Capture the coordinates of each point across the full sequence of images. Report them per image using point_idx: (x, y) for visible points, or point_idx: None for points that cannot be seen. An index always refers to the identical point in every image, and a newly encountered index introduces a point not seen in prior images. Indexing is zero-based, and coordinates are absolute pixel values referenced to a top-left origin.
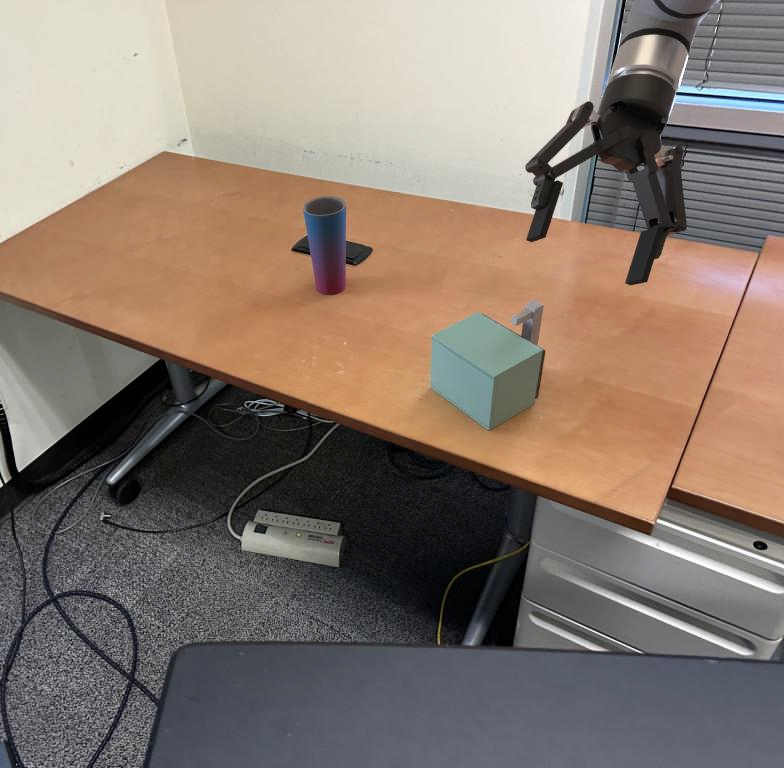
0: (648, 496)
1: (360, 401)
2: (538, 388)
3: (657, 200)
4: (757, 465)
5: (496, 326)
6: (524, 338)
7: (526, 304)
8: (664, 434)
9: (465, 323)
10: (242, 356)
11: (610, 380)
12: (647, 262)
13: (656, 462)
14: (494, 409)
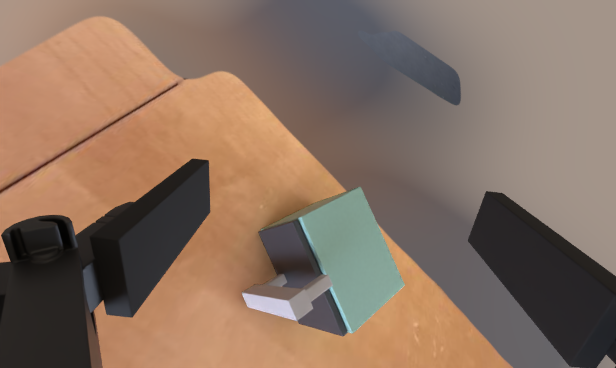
0: (211, 80)
1: (401, 273)
2: (265, 229)
3: (70, 347)
4: (60, 57)
5: (339, 287)
6: (309, 256)
7: (312, 306)
8: (140, 138)
9: (371, 303)
10: (480, 363)
11: None
12: (188, 177)
13: (177, 108)
14: (325, 199)
